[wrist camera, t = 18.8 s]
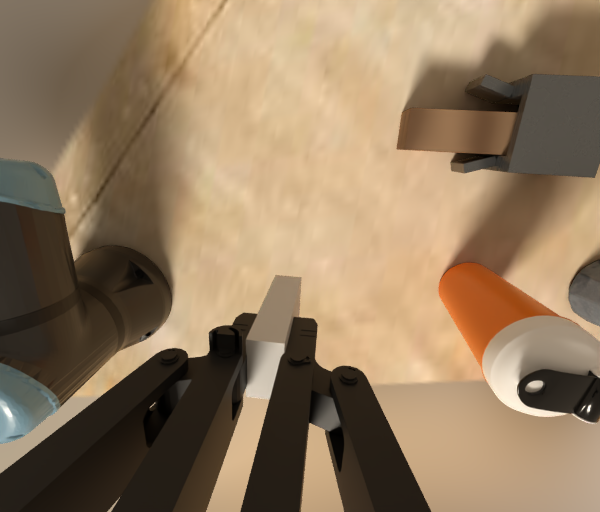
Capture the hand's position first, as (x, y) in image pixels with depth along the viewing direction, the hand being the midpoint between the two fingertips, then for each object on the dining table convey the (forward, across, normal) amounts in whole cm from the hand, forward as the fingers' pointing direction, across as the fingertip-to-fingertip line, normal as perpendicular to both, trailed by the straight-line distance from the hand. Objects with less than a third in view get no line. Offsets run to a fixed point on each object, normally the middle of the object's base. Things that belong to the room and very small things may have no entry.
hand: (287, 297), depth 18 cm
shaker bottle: (+25, +21, -8) cm, 33 cm away
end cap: (+24, +22, +11) cm, 34 cm away
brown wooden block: (+25, +16, +11) cm, 31 cm away
